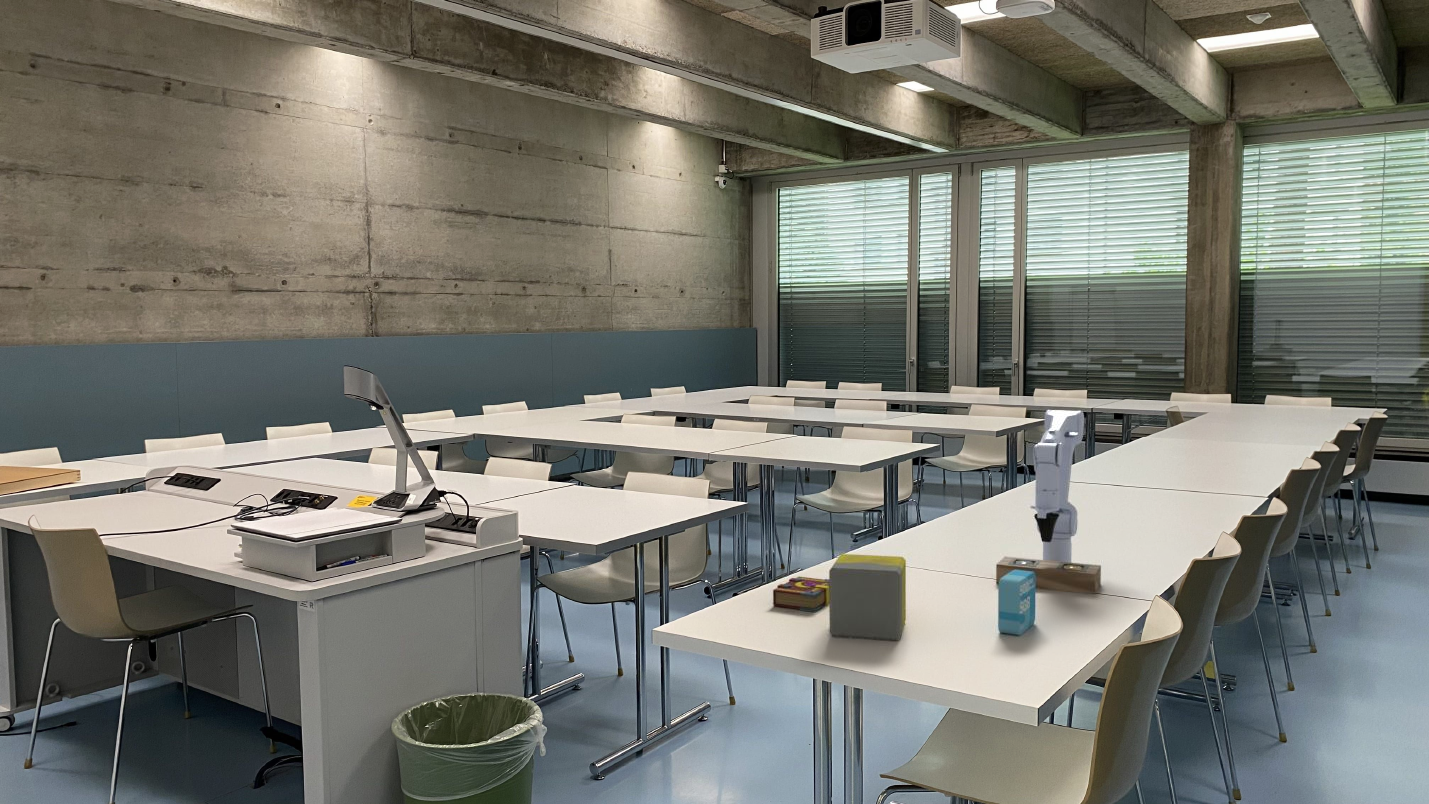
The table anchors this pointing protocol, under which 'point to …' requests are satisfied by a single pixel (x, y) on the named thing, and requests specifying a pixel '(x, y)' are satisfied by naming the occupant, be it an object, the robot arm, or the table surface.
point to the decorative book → (802, 594)
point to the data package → (1016, 602)
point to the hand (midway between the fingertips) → (1046, 541)
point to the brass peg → (1073, 567)
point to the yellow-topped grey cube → (867, 597)
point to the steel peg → (1024, 562)
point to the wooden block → (1055, 574)
